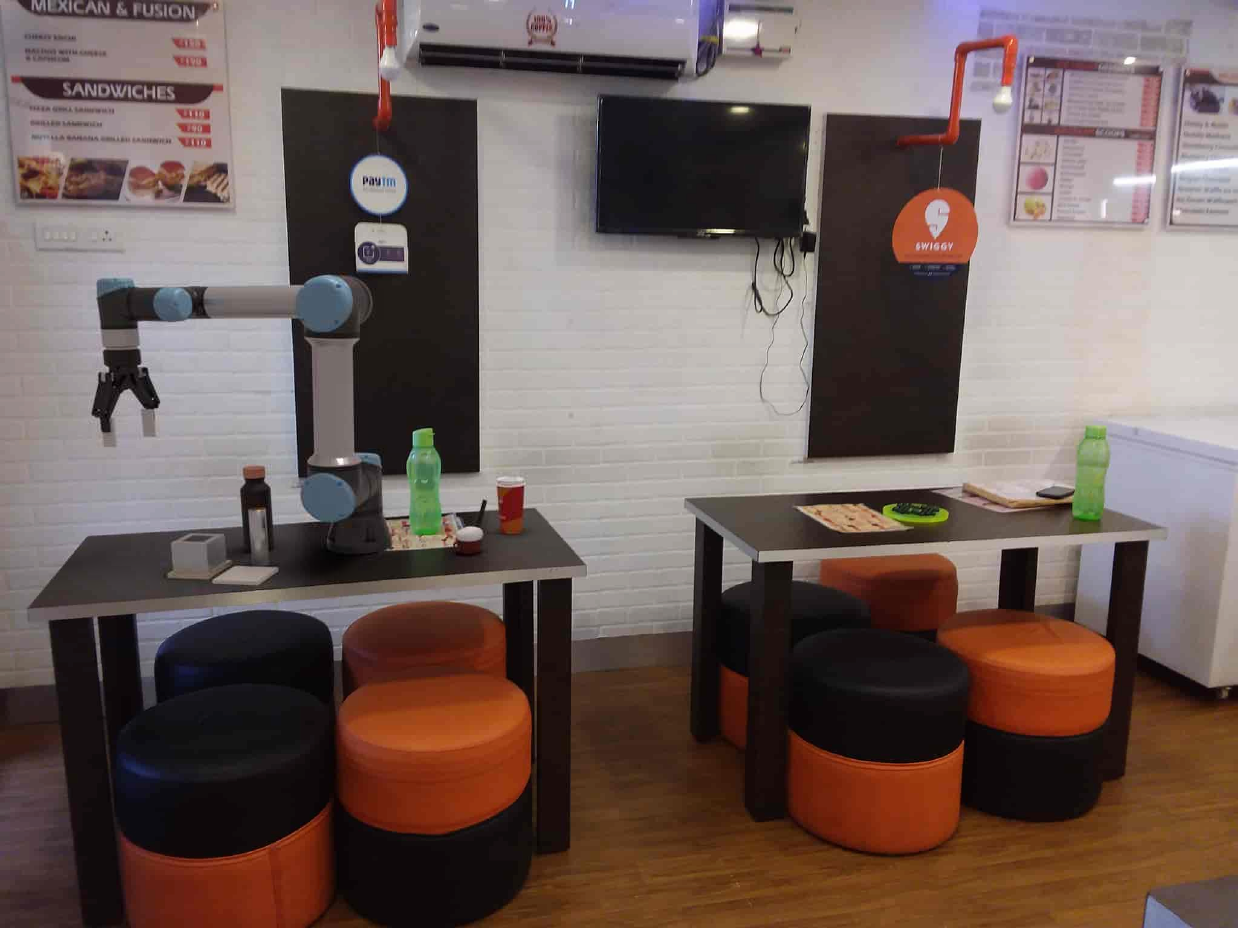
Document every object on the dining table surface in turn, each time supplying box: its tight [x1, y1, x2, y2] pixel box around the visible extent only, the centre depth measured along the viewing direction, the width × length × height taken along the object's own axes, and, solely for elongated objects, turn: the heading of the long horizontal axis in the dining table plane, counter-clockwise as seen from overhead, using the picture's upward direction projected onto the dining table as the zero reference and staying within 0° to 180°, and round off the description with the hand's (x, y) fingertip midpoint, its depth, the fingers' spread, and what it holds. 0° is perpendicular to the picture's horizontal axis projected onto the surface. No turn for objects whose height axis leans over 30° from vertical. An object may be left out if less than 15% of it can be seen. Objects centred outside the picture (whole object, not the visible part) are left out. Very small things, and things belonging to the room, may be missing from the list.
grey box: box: [166, 532, 233, 581], centre depth 211 cm, size 9×16×8 cm, turn 175°
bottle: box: [239, 465, 275, 553], centre depth 225 cm, size 7×7×20 cm
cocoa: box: [452, 499, 488, 556], centre depth 224 cm, size 10×6×12 cm, turn 111°
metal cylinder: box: [248, 507, 270, 567], centre depth 213 cm, size 4×4×13 cm
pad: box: [212, 565, 279, 586], centre depth 206 cm, size 10×10×1 cm
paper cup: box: [495, 476, 527, 536], centre depth 242 cm, size 8×8×14 cm
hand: (130, 441), depth 215 cm, fingers open, 13 cm apart
